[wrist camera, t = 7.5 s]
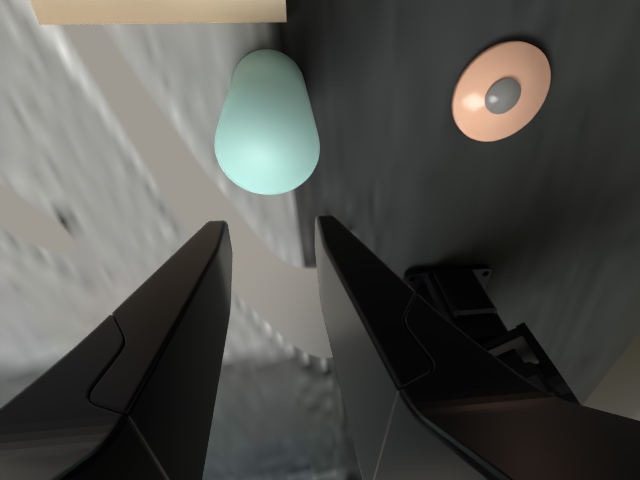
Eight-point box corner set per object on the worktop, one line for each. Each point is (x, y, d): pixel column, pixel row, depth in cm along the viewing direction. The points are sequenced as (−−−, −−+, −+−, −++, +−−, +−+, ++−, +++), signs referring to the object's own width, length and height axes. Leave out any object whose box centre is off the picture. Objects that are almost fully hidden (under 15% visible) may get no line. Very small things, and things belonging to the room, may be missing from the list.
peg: (305, 123, 20) (319, 192, 14) (236, 126, 19) (223, 197, 14) (304, 48, 18) (320, 95, 12) (226, 49, 17) (205, 98, 12)
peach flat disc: (526, 136, 22) (532, 141, 21) (442, 140, 21) (446, 144, 21) (561, 39, 18) (569, 42, 18) (463, 41, 18) (469, 43, 18)
